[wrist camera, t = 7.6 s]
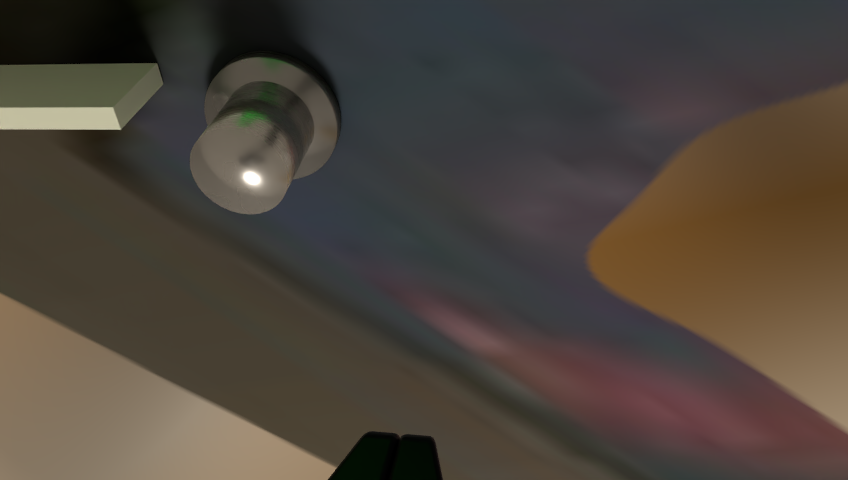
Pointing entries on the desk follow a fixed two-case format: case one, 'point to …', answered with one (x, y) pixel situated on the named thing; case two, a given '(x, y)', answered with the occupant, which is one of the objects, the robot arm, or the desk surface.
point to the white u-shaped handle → (75, 94)
